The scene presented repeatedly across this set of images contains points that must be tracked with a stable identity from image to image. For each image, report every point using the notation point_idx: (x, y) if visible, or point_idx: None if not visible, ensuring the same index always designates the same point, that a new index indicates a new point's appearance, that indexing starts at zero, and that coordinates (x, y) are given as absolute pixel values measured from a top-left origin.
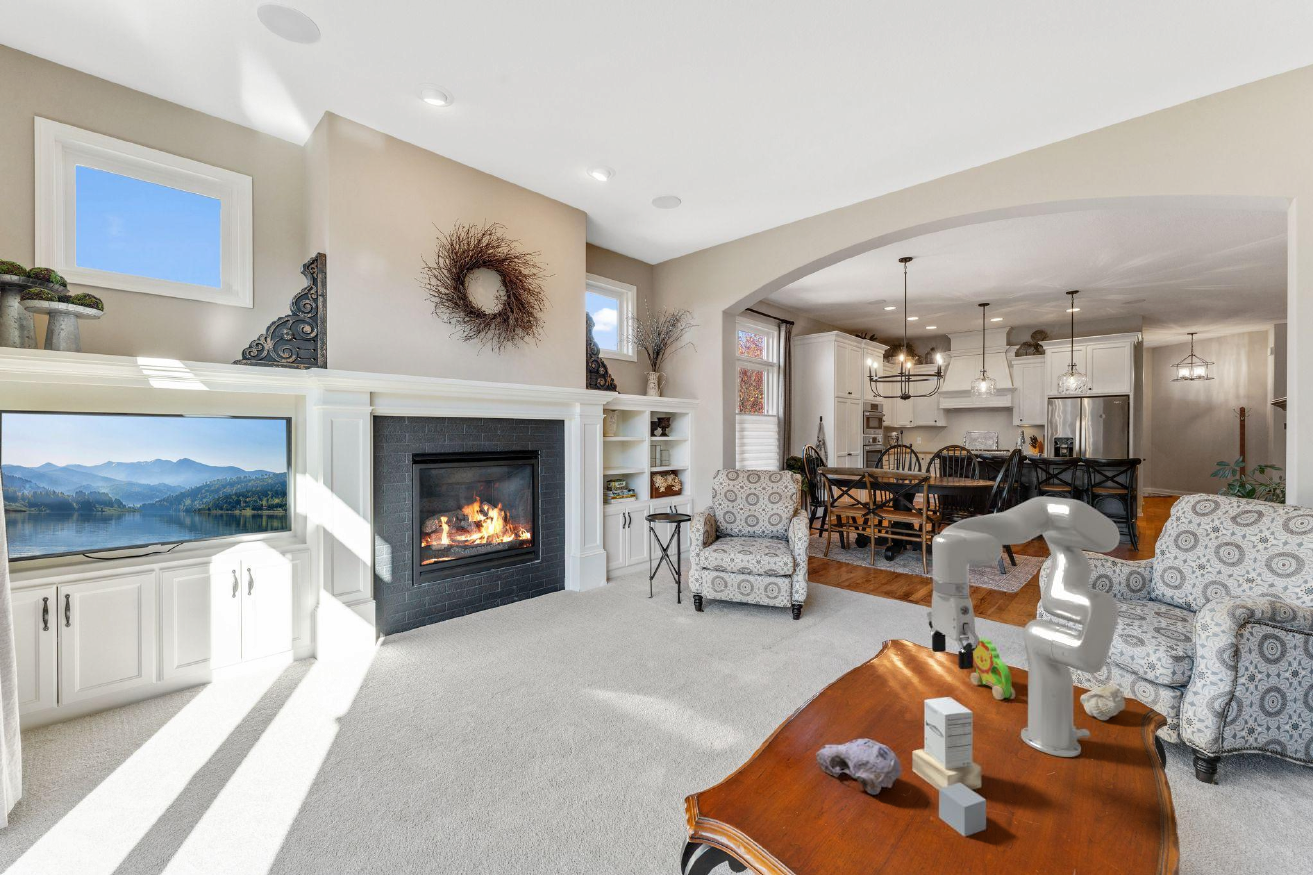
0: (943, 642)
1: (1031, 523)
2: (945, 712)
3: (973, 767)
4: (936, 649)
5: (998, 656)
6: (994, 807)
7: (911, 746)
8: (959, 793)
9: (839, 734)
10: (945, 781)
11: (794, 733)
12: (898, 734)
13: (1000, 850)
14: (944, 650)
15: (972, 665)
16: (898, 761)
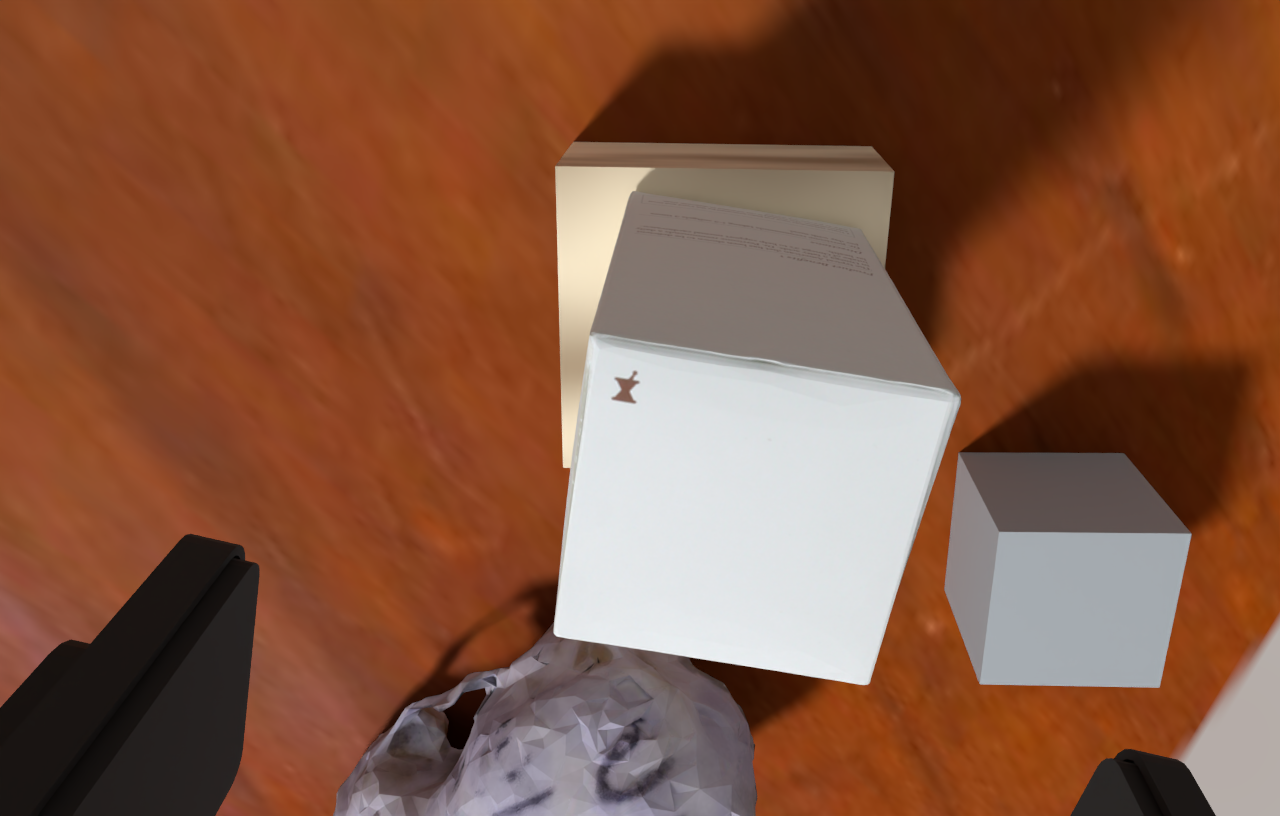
0: (152, 745)
1: None
2: (839, 655)
3: (876, 236)
4: (220, 770)
5: None
6: (1040, 251)
7: (346, 207)
8: (1067, 618)
9: (121, 539)
10: None
11: None
12: (185, 173)
13: (1252, 519)
14: (252, 591)
15: (1195, 807)
16: (718, 747)
